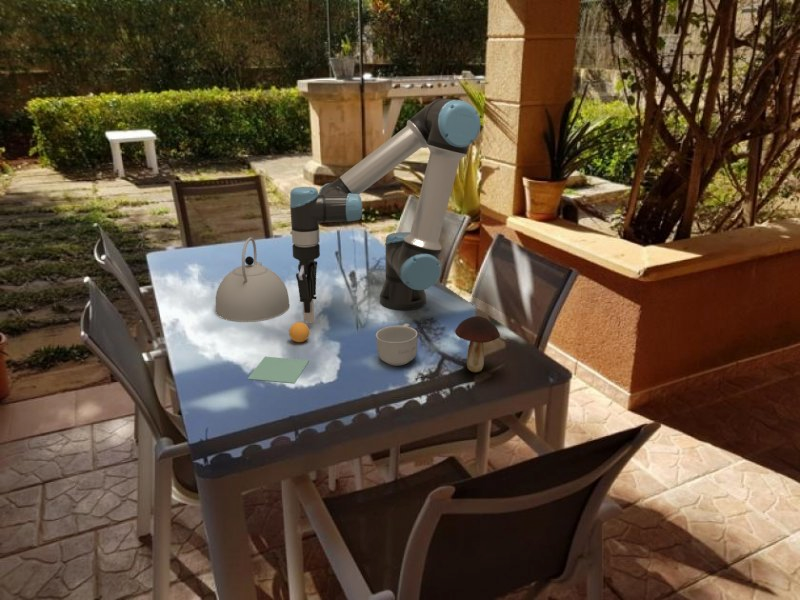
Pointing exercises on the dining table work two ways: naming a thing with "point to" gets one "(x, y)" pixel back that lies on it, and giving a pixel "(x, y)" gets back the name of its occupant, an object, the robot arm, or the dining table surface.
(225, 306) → the kettle
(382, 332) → the teacup
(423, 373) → the dining table surface
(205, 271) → the dining table surface
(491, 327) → the decorative mushroom
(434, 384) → the dining table surface
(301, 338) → the ball
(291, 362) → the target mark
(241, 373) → the dining table surface
